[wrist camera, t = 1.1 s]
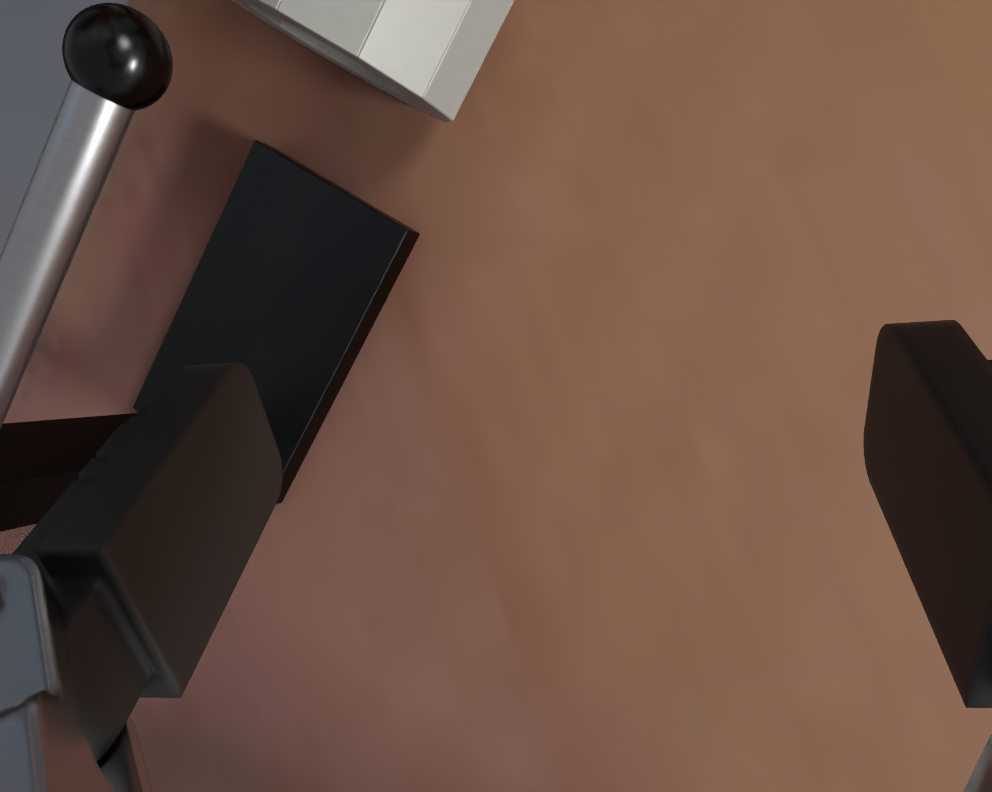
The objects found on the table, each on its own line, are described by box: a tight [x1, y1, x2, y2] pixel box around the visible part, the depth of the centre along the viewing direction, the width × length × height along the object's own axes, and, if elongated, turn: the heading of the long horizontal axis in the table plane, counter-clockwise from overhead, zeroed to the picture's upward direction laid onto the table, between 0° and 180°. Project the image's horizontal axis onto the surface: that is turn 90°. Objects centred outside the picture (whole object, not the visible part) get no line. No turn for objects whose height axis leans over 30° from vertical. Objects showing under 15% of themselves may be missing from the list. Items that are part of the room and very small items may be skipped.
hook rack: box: [0, 3, 419, 532], centre depth 27 cm, size 16×8×16 cm, turn 150°
